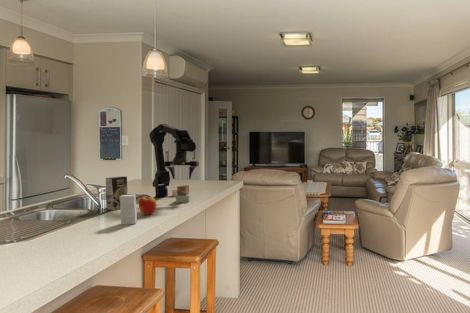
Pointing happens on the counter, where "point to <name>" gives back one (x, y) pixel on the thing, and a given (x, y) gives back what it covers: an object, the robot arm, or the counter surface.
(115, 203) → the coffee box
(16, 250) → the counter surface
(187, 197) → the base block
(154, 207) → the apple
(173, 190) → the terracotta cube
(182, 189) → the walnut cube
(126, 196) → the skincare box
